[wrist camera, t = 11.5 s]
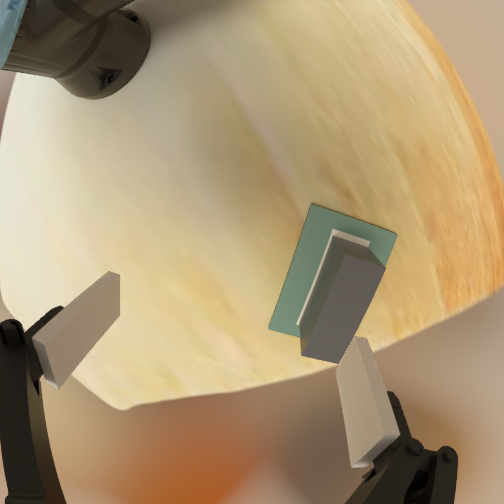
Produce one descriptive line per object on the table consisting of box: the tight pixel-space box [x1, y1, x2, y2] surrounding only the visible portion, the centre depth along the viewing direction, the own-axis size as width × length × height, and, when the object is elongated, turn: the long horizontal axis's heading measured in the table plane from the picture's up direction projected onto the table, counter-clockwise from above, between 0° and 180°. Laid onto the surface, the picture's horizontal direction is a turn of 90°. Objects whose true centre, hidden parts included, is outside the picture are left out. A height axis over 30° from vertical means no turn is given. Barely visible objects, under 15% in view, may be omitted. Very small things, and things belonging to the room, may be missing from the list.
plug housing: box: [299, 236, 386, 364], centre depth 32 cm, size 13×5×7 cm, turn 165°
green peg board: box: [268, 204, 397, 337], centre depth 34 cm, size 18×12×6 cm, turn 164°
